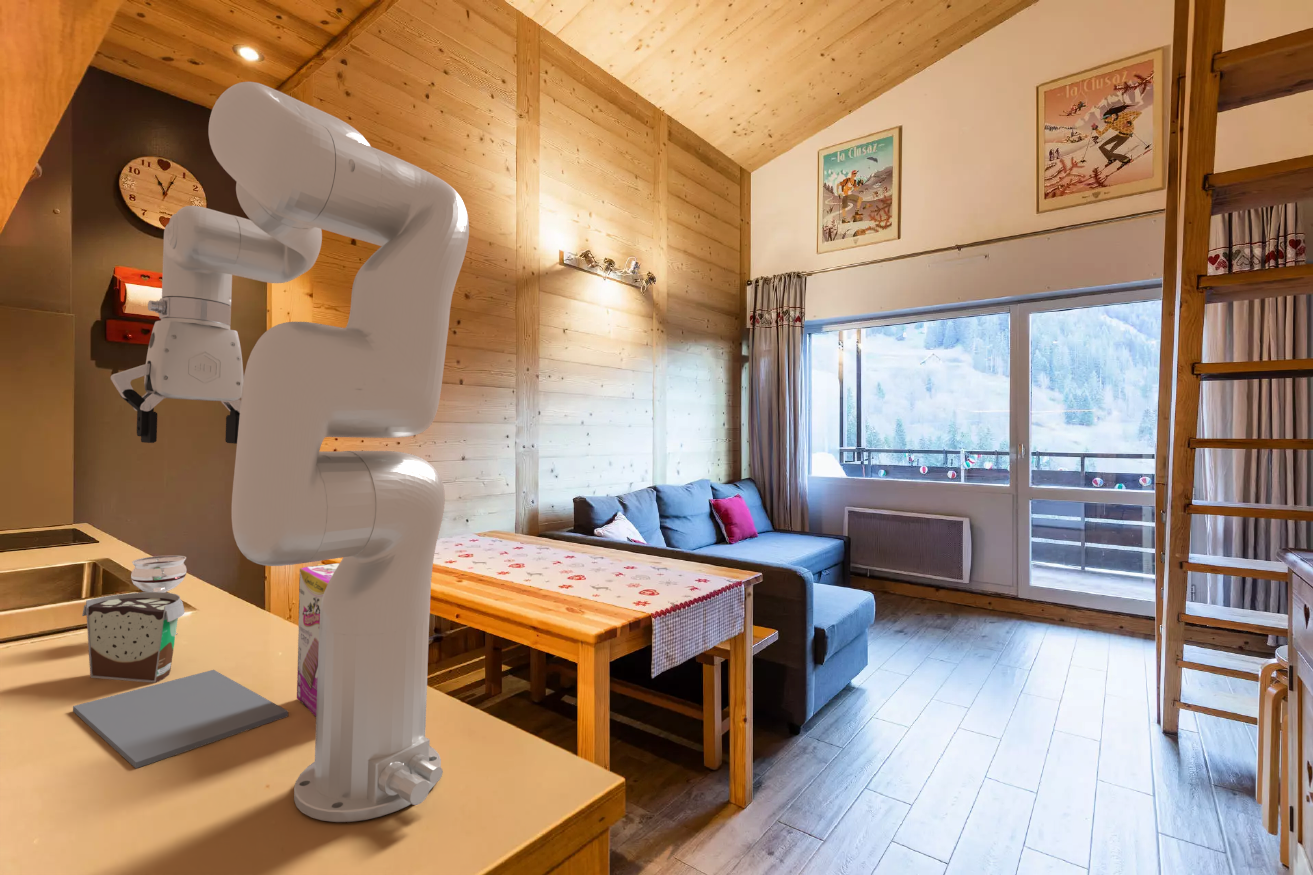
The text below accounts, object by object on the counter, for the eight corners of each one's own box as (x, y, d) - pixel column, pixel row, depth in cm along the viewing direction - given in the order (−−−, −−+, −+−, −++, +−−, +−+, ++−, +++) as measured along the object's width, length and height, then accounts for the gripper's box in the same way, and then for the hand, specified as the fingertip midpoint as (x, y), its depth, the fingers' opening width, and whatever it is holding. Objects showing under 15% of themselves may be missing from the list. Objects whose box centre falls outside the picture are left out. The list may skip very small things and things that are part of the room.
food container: (206, 665, 85) (208, 593, 85) (166, 683, 79) (168, 605, 79) (125, 659, 86) (127, 588, 86) (79, 676, 80) (82, 600, 80)
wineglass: (161, 627, 100) (163, 554, 99) (195, 631, 98) (198, 557, 98) (116, 640, 93) (119, 562, 93) (153, 645, 92) (155, 565, 91)
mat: (287, 716, 71) (288, 710, 71) (135, 768, 59) (136, 762, 59) (213, 674, 82) (213, 669, 82) (72, 711, 70) (73, 705, 70)
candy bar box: (293, 700, 75) (297, 567, 75) (336, 688, 79) (340, 561, 79) (325, 732, 68) (330, 584, 67) (372, 718, 71) (376, 577, 71)
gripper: (125, 301, 73) (120, 443, 73) (278, 325, 88) (274, 444, 88) (104, 306, 78) (99, 441, 78) (254, 329, 92) (250, 442, 92)
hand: (192, 442), depth 83 cm, fingers open, 9 cm apart
